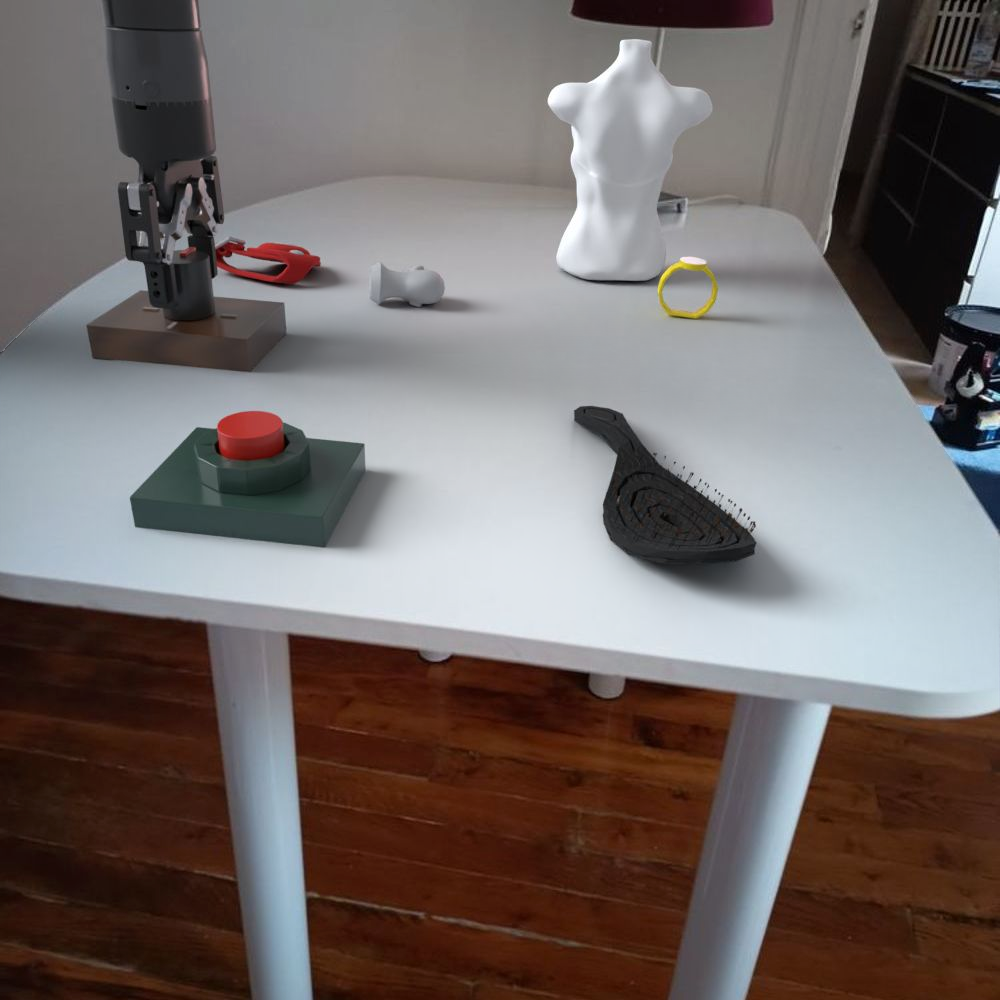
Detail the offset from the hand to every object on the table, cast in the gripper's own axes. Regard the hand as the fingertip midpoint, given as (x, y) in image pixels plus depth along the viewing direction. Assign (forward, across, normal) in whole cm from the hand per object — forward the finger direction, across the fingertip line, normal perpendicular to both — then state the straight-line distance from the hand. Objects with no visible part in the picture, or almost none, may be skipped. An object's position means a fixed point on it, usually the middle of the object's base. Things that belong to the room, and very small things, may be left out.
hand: (185, 291), depth 80 cm
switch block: (+5, +25, +15) cm, 30 cm away
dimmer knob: (+2, 0, 0) cm, 2 cm away
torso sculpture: (+5, -34, +37) cm, 51 cm away
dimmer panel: (+5, 0, 0) cm, 5 cm away
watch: (+5, -20, +45) cm, 50 cm away
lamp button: (+1, +25, +15) cm, 29 cm away
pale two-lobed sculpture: (+5, -17, +16) cm, 24 cm away
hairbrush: (+5, +19, +40) cm, 45 cm away
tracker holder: (+5, -23, -1) cm, 23 cm away
